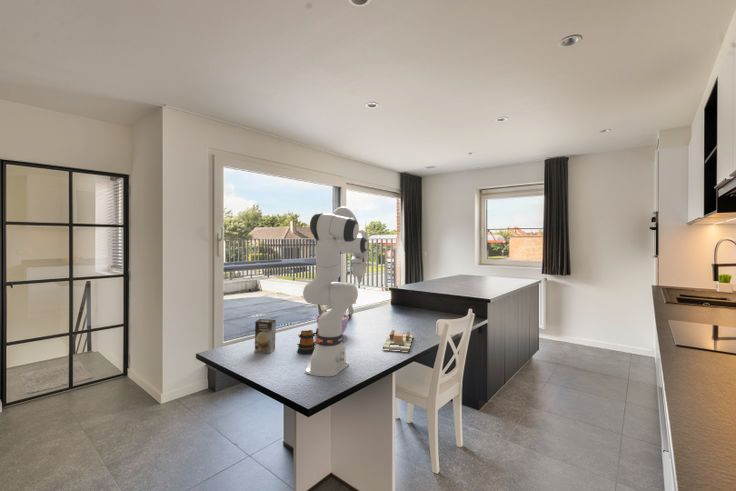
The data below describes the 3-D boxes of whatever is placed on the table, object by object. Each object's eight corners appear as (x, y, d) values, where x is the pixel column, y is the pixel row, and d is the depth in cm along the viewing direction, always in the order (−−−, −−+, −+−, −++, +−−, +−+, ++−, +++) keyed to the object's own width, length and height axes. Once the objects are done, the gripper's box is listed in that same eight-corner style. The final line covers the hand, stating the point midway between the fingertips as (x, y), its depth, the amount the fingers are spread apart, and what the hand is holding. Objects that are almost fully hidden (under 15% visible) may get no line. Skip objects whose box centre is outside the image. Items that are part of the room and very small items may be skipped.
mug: (302, 356, 170) (302, 333, 170) (293, 350, 178) (293, 328, 178) (324, 351, 178) (325, 329, 178) (315, 346, 186) (315, 325, 186)
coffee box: (253, 352, 174) (254, 321, 174) (259, 348, 180) (259, 318, 180) (271, 353, 173) (271, 322, 173) (275, 349, 180) (276, 319, 179)
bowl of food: (309, 338, 200) (310, 318, 200) (324, 329, 219) (324, 311, 219) (341, 342, 194) (341, 322, 194) (353, 332, 213) (353, 314, 213)
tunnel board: (408, 352, 178) (409, 343, 178) (382, 350, 181) (382, 341, 181) (413, 337, 206) (413, 329, 205) (390, 335, 208) (390, 327, 208)
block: (402, 343, 188) (402, 336, 188) (394, 342, 189) (394, 335, 188) (402, 340, 192) (403, 333, 192) (395, 340, 193) (395, 333, 193)
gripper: (358, 257, 207) (358, 280, 207) (350, 259, 187) (349, 284, 187) (369, 257, 206) (368, 280, 206) (361, 260, 186) (361, 285, 186)
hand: (359, 282), depth 196 cm, fingers closed
